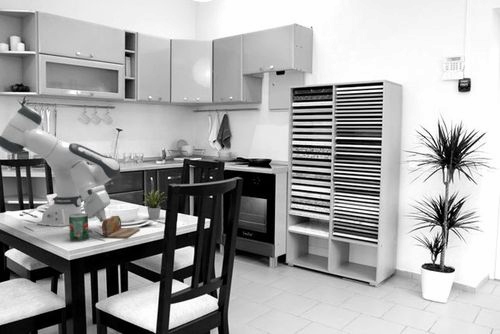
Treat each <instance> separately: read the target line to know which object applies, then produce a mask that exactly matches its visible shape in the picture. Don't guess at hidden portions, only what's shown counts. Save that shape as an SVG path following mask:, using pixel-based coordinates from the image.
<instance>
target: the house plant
mask: <svg viewBox="0 0 500 334" xmlns="http://www.w3.org/2000/svg"><path fill="white" fill-rule="evenodd" d="M159 191H160V190H156V191H155V192H154V188H153V189H152V194H151V192H148V194H149V195H148V194H147V192H143V193H142V192H141V194H143V195H144V196H145V197H146V199H145V201H143V202H142V203H143V205H145V204H147V205H149V206H147V207H146V209H147V214H148V218H150V219H149V220H158V219H160V215H161V214H160V213H161V206H159V204H160V203H161V201H162V200H163V199H166V198H168V197H167V196H162V194H165V192H162V194H158V193H159ZM161 196H162V197H161Z"/></svg>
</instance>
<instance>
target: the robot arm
mask: <svg viewBox="0 0 500 334" xmlns="http://www.w3.org/2000/svg"><path fill="white" fill-rule="evenodd" d="M42 120H43V119H42V116H41V115H40V113H39V112H38V111H37V110H36V109H34V108H32V107H27V106H23V107H21V108H20V109H18V110H17V113H15V114H14V115H13V116H12V117H11V119H10V120H9V121H8V123H7V125H6V126H5V128H4V129H3V131H2V133H1V135H0V149H1V150H2V151H4V152H6V153H8V154H12V155H13V154H14V155H17V154H18V155H19V154H21V153H23V152H24V153H26V152H27V150H29V151H30V152H32V153H34V154H35V155H37V156H38V157H40V158H42V159H43V160H45V161H46V163H47V165H48V166H49V167H50V168H51V171H52V173H53V177H54V181H55V189H56V191H55V192H56V196H54V197H52V198H51V201H53V203H52V205H50V206H49V207H48V208H46V209H45V210H44V211H43V213H42V218H41V220H39V221H38V222H37V224H42V225H41V226H46V225H49V227H59V228H60V227H67V226H69V215H72V214H78V213H82V208H83V210H84V213H85V214H88V220H91V219H93V218H97V219H98V221H99V222H100V223H103V221H104V220H106V219H108V218H107V215H106V210H105V209H106V208H107V207H108V206H109V205H110V204H111V198H110V197H109V193H108V192H107V191H106V186H105V184H107V183H109V181H111V180H113V179H115V178H117V177H118V176H119V175H120V173H121V166H120V162H119V161H118V160H116V159H115V158H113V157H111V156H107V155H104V154H102V153H99V152H97V151H94V150H93V149H91V148H88V147H87V146H84V145H81V144H79V143H74V142H73V143H72V142H67V141H65V140H62V139H60V138H59V137H57V136H54V135H53V134H51V133H50V132H47V131H44V130H43V129H41V128H38V127H39V126H40V125H41V123H42ZM24 148H25V149H24ZM26 149H27V150H26ZM88 163H89V164H92V165H93V166H92V165H89V164H88ZM81 199H82V200H81ZM82 201H83V207H81V205H82Z"/></svg>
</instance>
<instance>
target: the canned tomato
mask: <svg viewBox="0 0 500 334" xmlns="http://www.w3.org/2000/svg"><path fill="white" fill-rule="evenodd" d="M68 226H69V228H68V229H69V241H70V242H75V243H78V242H84V241H85V242H86V241H88V240H89V239H90V238H89V236H90V235H89V233H90V231H89V219H88V214H86V213H85V212H84V213H78V214H72V215H69V225H68Z"/></svg>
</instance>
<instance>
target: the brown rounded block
mask: <svg viewBox="0 0 500 334" xmlns="http://www.w3.org/2000/svg"><path fill="white" fill-rule="evenodd" d="M101 223H102V225H101V230H102V231H101V232H102V235H103V236H104V237H105V238H108V236H109V235H110V234H112V233H114V232H116V231H118V230H119V229H121V228H122V221H121V218H120V216H119V215H112V216H110V217H108V218H107V219H105V220H104V221H103V222H101Z"/></svg>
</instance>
